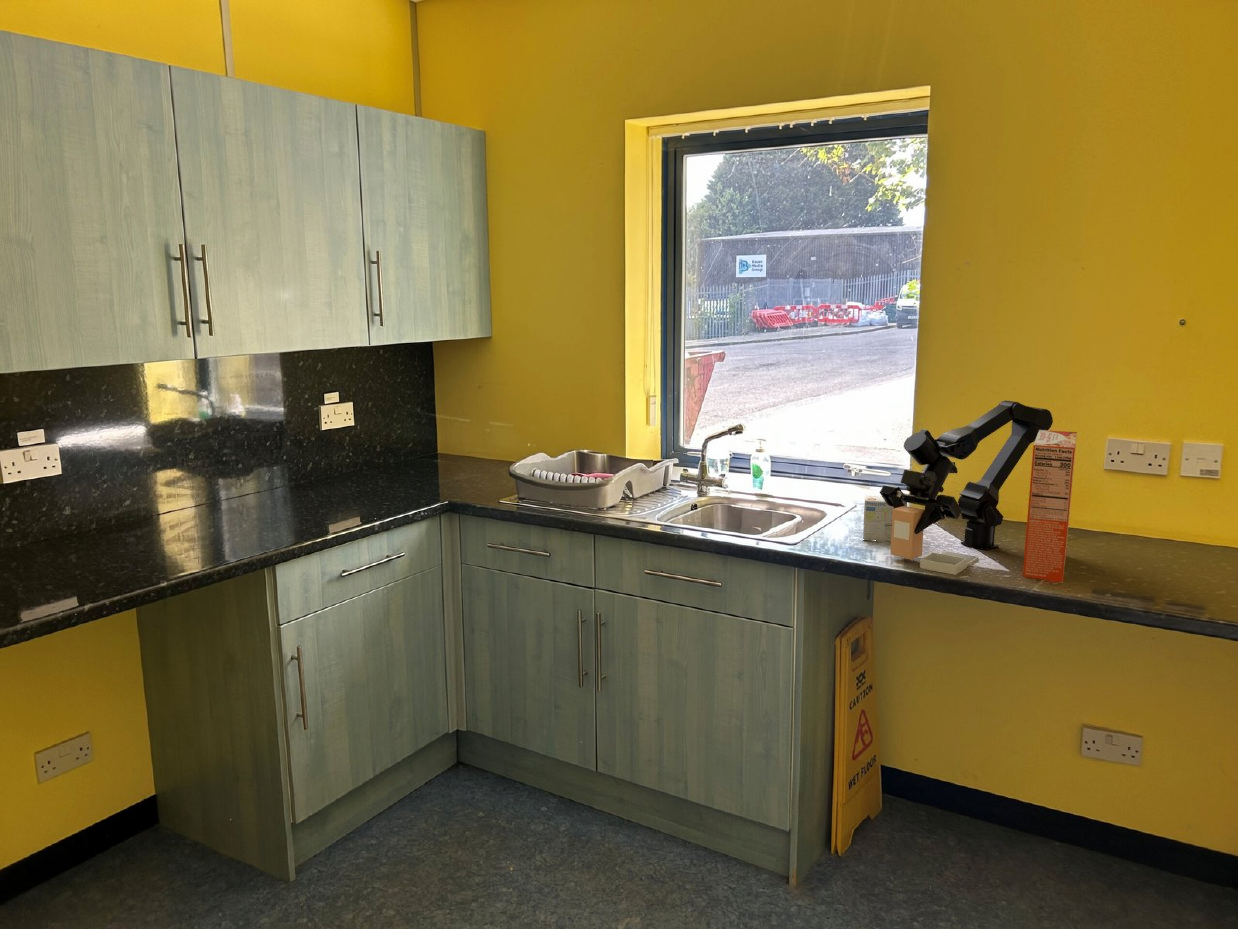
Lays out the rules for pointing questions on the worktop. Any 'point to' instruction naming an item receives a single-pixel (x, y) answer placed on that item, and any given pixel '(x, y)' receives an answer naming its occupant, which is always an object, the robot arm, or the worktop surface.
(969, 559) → the case lid
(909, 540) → the block
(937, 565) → the case
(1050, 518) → the orange cereal box
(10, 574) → the worktop surface
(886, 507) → the light bulb box
